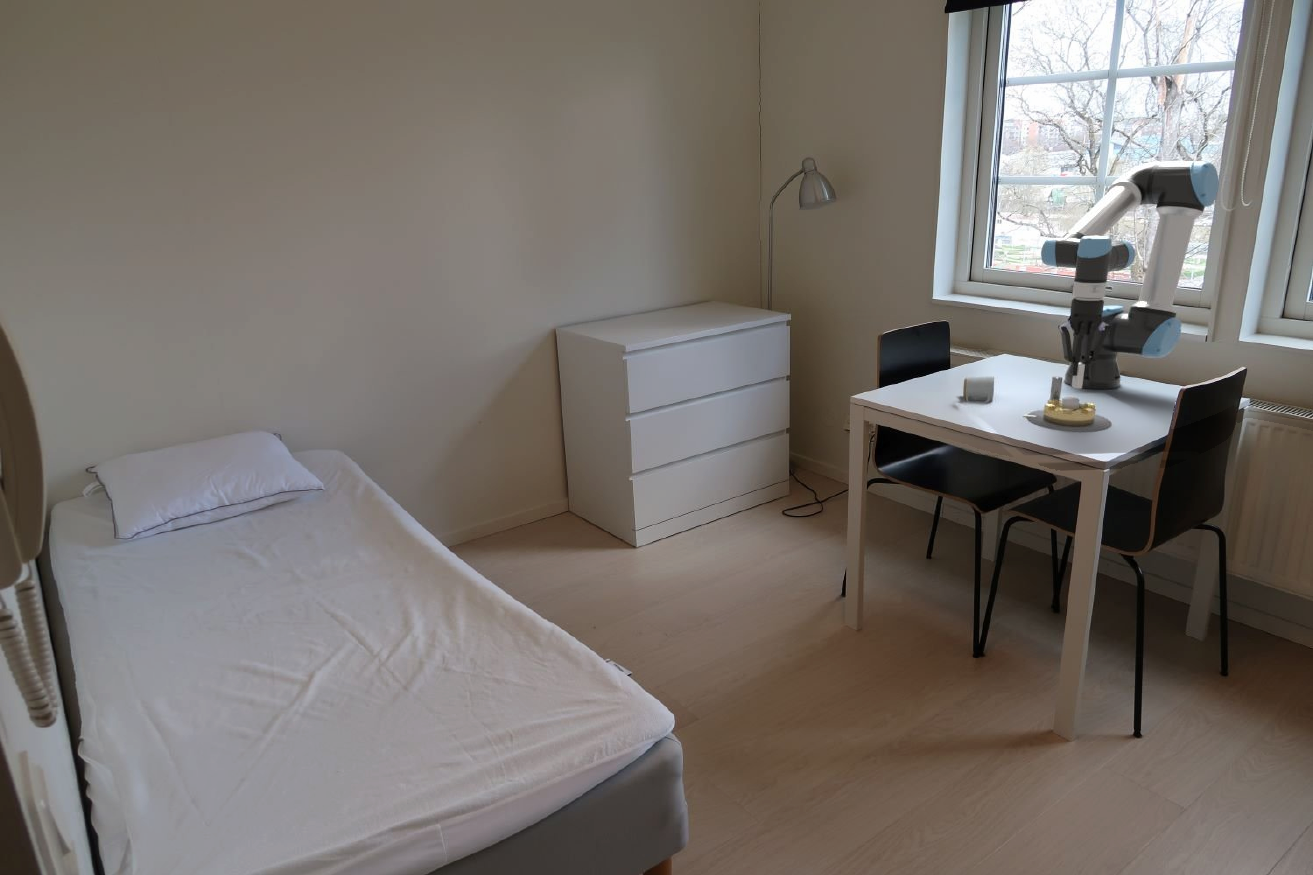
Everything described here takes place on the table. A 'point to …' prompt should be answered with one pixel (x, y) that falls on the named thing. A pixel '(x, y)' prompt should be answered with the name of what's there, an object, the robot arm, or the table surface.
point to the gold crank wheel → (1064, 415)
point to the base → (1073, 404)
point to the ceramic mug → (979, 389)
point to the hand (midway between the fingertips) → (1076, 387)
